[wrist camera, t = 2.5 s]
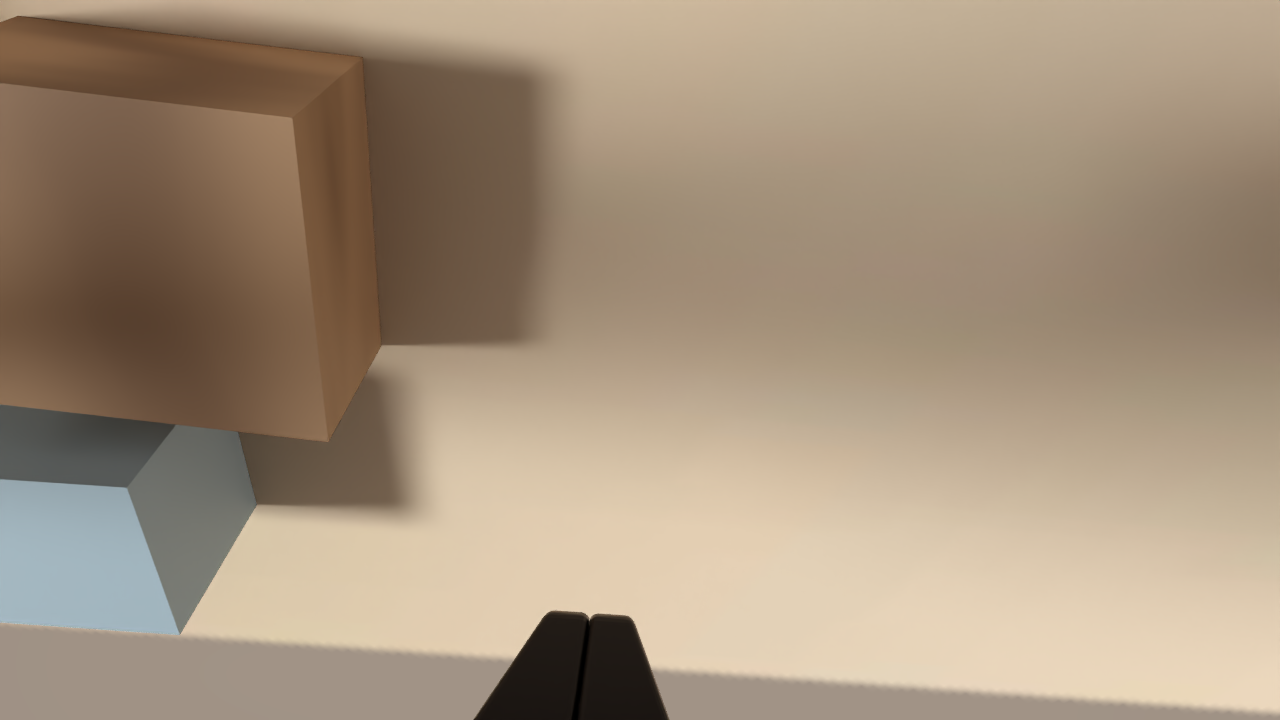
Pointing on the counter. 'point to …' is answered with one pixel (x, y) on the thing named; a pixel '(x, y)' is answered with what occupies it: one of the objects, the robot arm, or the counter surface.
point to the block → (114, 518)
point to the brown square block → (183, 229)
